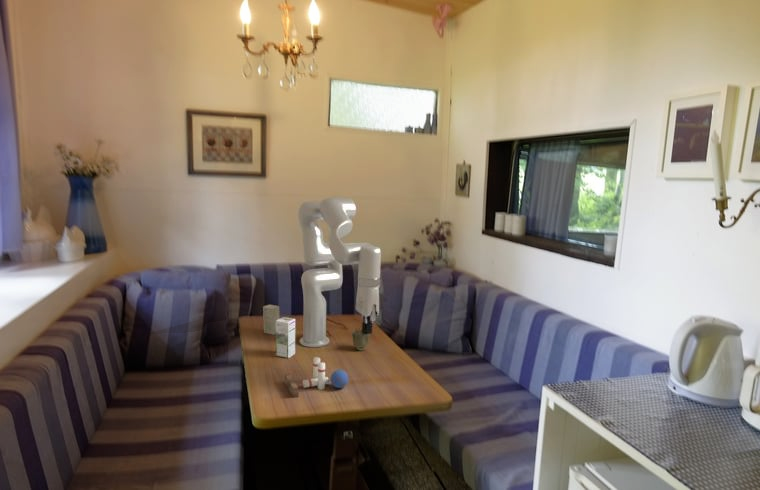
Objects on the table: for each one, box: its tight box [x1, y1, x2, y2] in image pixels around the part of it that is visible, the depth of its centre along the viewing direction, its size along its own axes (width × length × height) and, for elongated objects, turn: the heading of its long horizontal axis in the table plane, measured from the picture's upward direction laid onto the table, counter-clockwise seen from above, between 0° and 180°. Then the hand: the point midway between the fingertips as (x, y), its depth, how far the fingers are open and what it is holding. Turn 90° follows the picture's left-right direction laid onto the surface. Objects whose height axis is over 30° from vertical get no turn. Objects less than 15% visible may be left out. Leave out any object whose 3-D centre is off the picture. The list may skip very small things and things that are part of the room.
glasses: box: [326, 316, 349, 337], centre depth 220 cm, size 13×13×5 cm
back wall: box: [284, 373, 300, 398], centre depth 158 cm, size 12×2×3 cm, turn 25°
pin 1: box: [312, 356, 321, 379], centre depth 163 cm, size 2×2×8 cm
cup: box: [351, 328, 371, 352], centre depth 196 cm, size 8×7×8 cm
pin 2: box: [317, 361, 326, 391], centre depth 159 cm, size 2×2×8 cm
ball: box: [329, 369, 349, 389], centre depth 160 cm, size 6×6×6 cm
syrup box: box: [275, 317, 296, 359], centre depth 187 cm, size 6×6×14 cm
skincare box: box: [262, 304, 281, 335], centre depth 213 cm, size 6×4×12 cm
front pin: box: [302, 376, 330, 389], centre depth 161 cm, size 2×2×8 cm
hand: (367, 333), depth 167 cm, fingers closed
